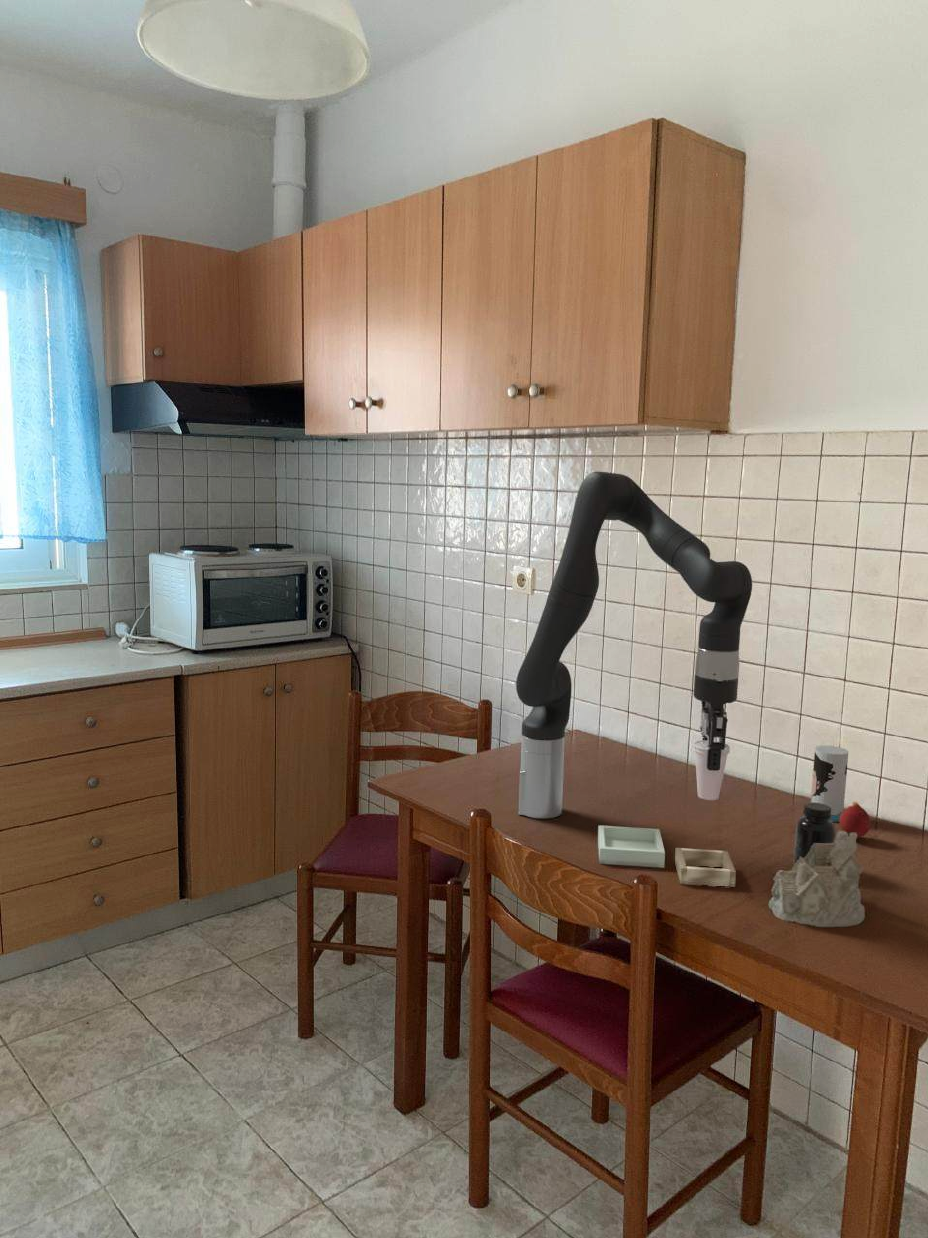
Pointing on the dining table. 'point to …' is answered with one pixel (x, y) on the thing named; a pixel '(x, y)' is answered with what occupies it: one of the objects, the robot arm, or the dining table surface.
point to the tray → (630, 846)
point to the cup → (830, 778)
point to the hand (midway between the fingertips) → (710, 763)
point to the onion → (855, 820)
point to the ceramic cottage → (821, 886)
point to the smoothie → (708, 771)
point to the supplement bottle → (813, 828)
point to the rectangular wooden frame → (704, 874)
